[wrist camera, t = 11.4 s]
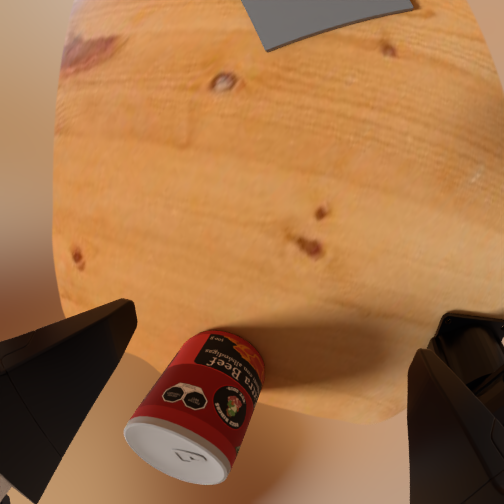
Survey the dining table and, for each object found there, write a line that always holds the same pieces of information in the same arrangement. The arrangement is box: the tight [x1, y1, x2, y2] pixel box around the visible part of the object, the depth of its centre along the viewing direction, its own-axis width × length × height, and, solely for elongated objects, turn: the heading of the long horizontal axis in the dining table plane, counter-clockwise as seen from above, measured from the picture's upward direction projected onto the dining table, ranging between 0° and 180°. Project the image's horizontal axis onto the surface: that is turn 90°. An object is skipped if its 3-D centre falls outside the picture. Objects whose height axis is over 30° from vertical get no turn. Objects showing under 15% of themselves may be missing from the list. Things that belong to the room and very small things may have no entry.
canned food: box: [124, 331, 265, 485], centre depth 23 cm, size 8×8×11 cm
